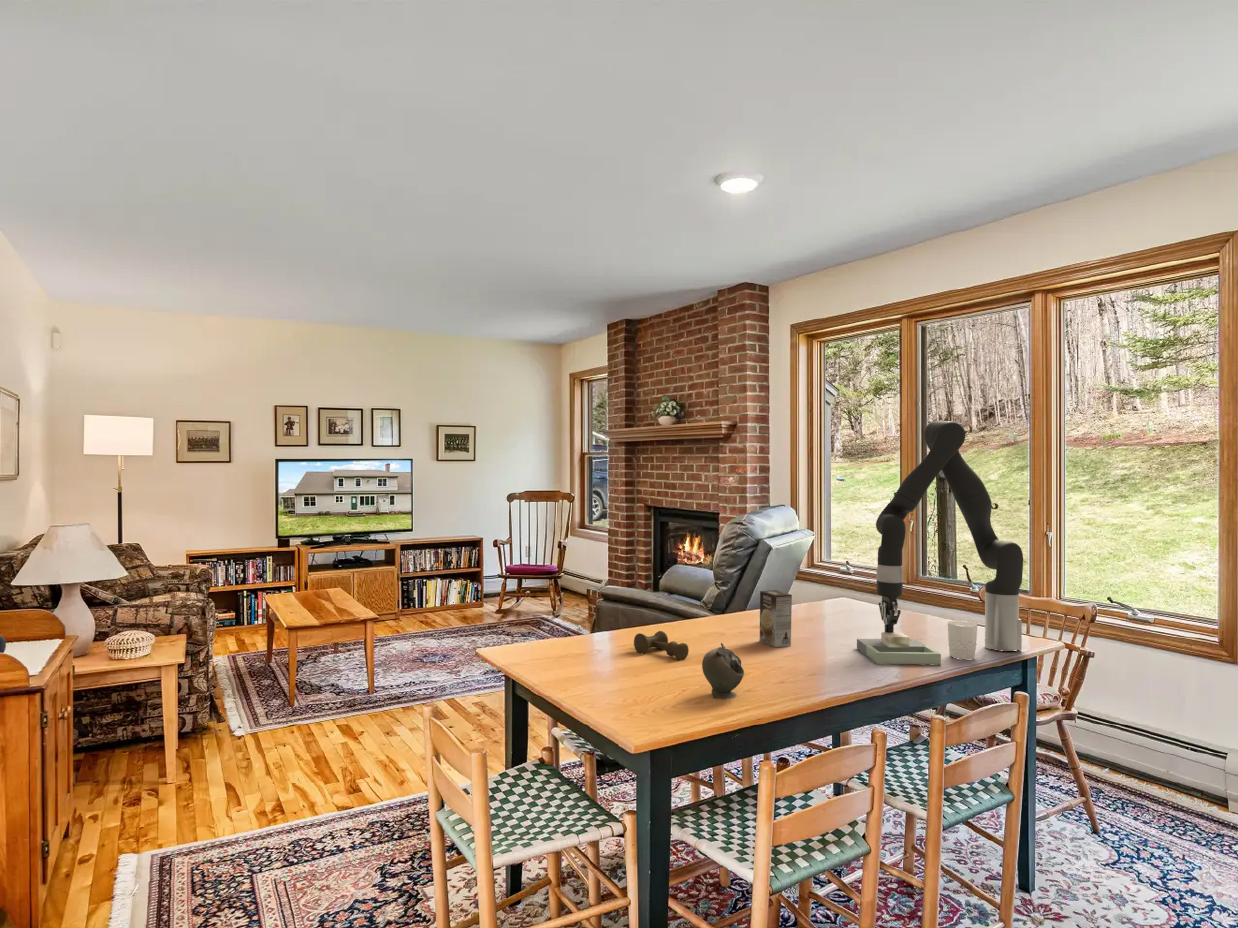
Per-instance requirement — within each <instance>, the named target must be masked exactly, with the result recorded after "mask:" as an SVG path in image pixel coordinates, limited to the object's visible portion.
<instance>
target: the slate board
mask: <svg viewBox="0 0 1238 928" xmlns="http://www.w3.org/2000/svg"><path fill="white" fill-rule="evenodd" d="M866 645H871V646H872V647H874V648H875V649H876V650H878V651H879V652H921V653H924V646H927V645H926V644H924V643H923V642H921V641H919V640H917V639H913V638H911V639H910V638H909V648H905V647H888V646H886V645H884V644H883V643H881V638H856V649H857V650H858V649H859V650H860V652H861V653H862V654H863V653H864V654H865V655H864V654H863V655H864V656H866Z"/></svg>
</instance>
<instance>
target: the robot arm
mask: <svg viewBox="0 0 1238 928" xmlns="http://www.w3.org/2000/svg"><path fill="white" fill-rule="evenodd" d="M923 437H924V442H925V444H926V446H927V447H928V450H929V452H928V454H926V456H925V457H924V458H923V460H922V461H921V462H920V463H919V464H918V465H917V466H916V467H915V468H914V469H913V470H912V471H911V472H910V473H909V474H908V475H907V476H906V477H905V479H904V480H903V481H902V482H901V484H900V485H899V487H898V489H897V491H896V492H895V494H894V496H893V498H892V499H891V501H889V503H888V504H887V505H886V506H885V507H884V508H883V510H882V511H881V512H880V513H879V515H878V517H877V519H876V522H875V528H876V531H877V532H878V533H879V534H880V535H881V542H880V545H879V547H878V549H877V567H876V591H875V593H876V595H877V596H880V597H881V600H880V602H878V607H879V612H880V617H881V621H882V622H883V624H884V632H890V633H895V631H894V626H895V625H897V624H898V621H899V618H900V615H901V612H902V611H901V609H898V608H899V604H898V598H900V597H902V596H903V595H904V591H903V590H904V570H903V548H904V544H905V538H906V533H907V532H906V530H907V529H906V522H905V521H904V520H905V519H906V517H907V516H908V515H909V514H910V513H912V512H914V510H915V509H916V508H917V506H918V505H919V503H921V500H922V499H923V497H924V495H925V493H926V492H927V490H928V488H929V487H930V486H931V484H932V483H933V481H934V480H935V479H936V477H937V476H938V475H939V473H941V471H942V474H943V476H944V478H945V480H946V482H947V484H948V486H949V489H950V491H951V493H952V496H953V498H954V500H955V502H956V504H957V506H958V508H959V510H960V512H961V514H962V517H963V518H964V521H965V522H966V525H967V527H968V530H969V532H970V534H971V537H972V539H973V542H974V545H975V548H976V551H977V554H978V556H979V559H980V561H981V563H982V564H983V565H984V566H985V567H986V568H988V569H990V570H994V571H995V572H996V573H995V577H994V579H992V580H990V581H987V582H986V583H985V586H984V587H985V588H984V592H985V594H984V595H985V596H984V597H985V598H984V602H985V603H984V605H985V607H984V609H985V610H984V612H985V613H984V648H986V649H987V650H991V649H997V650H1003V651H1014V650H1022V643H1023V642H1022V641H1023V636H1022V633H1023V632H1022V631H1023V630H1022V629H1023V627H1022V626H1023V625H1022V624H1023V621H1022V619H1021V618H1020V613H1019V612H1020V588H1021V586H1022V583H1023V572H1024V553H1023V549H1022V548H1021V547H1020V545H1019V544H1017V543H1016V542H1013V541H1007V540H1000V539H999V538H998V537H997V534H996V533H995V530H994V527H993V526H992V524H991V523H992V522H991V515H992V509H993V507H992V499H991V497H990V494H989V492H988V489H987V488H986V485H985V484H984V482H983V480H982V479H981V477H980V476H979V475H978V474H977V473H976V471H974V470H973V468H972V467H971V465H969V464H968V462H966V460H965V459H964V458H963V456H962V454H961V453H960V449H961V447H962V446H963V445H964V442H965V440H966V430H965V429H964V427H963V425H961V424H960V423H958V422H956V421H949V420H935V421H931V422H929V423H928V424H927V425H926V426H925V429H924V433H923Z"/></svg>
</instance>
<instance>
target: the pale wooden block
mask: <svg viewBox="0 0 1238 928" xmlns="http://www.w3.org/2000/svg"><path fill="white" fill-rule="evenodd" d="M880 635H881V636H880V637H881V638H880V639H881V643H883V644H884V645H886V646H888V647H905V648H909V639H910V636H909V635H906V634H904V633H903V632H894V633H890V632H885V631H884V632H883V631H882V632H881V633H880Z"/></svg>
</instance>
